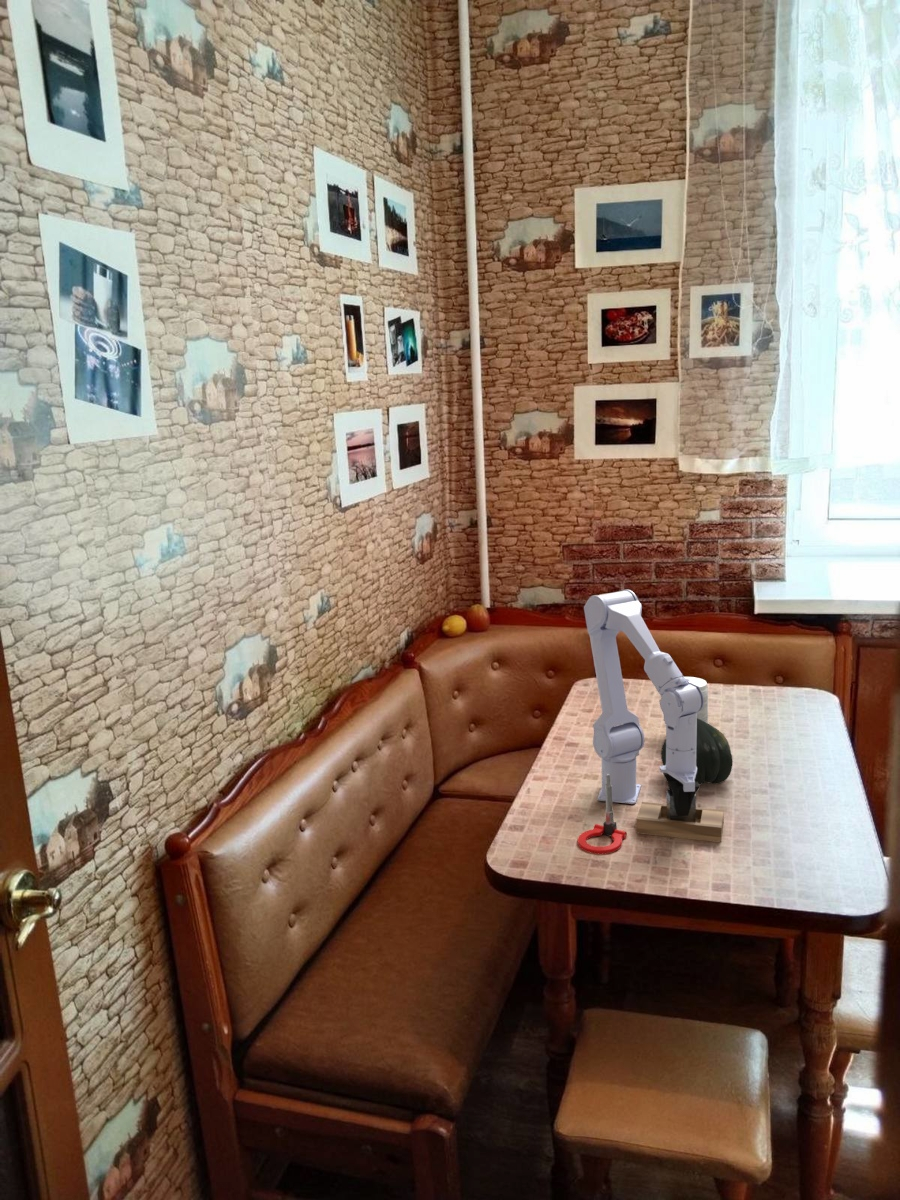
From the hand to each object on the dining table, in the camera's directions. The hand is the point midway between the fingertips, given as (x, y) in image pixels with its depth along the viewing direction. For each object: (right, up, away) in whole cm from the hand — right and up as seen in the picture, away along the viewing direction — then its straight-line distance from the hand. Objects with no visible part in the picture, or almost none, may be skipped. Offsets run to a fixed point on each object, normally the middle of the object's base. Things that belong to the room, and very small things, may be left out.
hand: (680, 811), depth 188 cm
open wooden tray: (0, -4, +1) cm, 4 cm away
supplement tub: (+13, +7, +47) cm, 49 cm away
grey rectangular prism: (0, -2, 0) cm, 2 cm away
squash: (+9, +2, +23) cm, 25 cm away
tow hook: (-16, -6, -3) cm, 17 cm away
